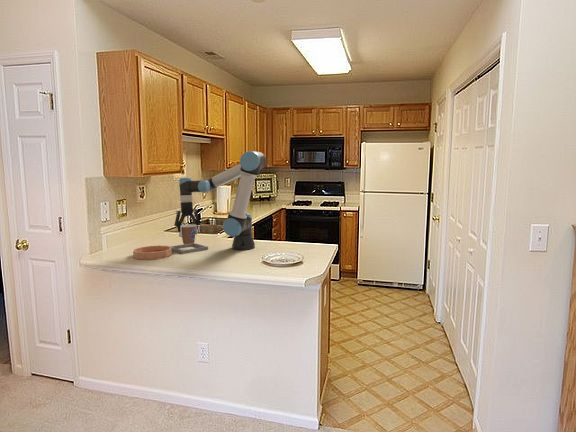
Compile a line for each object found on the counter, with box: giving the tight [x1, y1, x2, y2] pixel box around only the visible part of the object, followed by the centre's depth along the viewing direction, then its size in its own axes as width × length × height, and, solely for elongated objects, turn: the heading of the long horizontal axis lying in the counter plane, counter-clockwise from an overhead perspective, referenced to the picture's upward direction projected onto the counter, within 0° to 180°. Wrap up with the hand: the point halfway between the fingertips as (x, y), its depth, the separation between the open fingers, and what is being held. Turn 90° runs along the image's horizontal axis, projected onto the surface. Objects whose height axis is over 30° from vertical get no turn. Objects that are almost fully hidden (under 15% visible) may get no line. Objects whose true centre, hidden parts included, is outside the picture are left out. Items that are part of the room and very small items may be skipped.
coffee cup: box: [180, 223, 196, 245], centre depth 257 cm, size 10×10×12 cm
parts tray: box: [170, 242, 209, 255], centre depth 259 cm, size 18×18×2 cm
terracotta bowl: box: [132, 245, 173, 261], centre depth 242 cm, size 22×22×4 cm
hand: (188, 235), depth 258 cm, fingers closed on coffee cup, 10 cm apart
